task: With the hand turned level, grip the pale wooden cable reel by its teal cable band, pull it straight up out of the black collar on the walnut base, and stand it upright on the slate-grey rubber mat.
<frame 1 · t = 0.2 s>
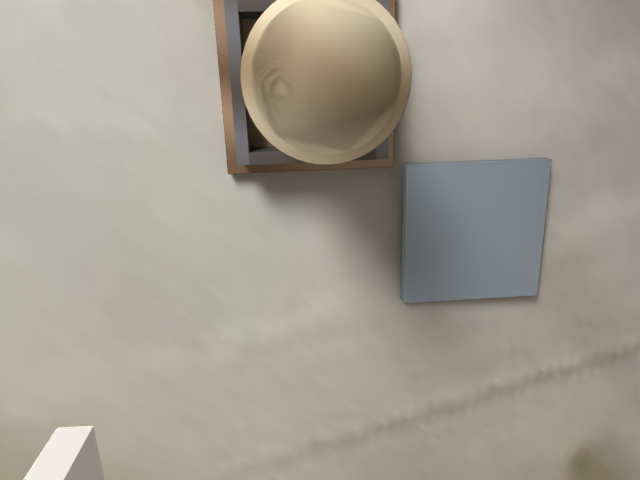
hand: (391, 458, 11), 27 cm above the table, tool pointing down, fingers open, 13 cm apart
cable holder: (307, 83, 35), on the table
cable reel: (308, 83, 34), point 1 cm above the table, touching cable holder
rubber mat: (470, 230, 39), on the table
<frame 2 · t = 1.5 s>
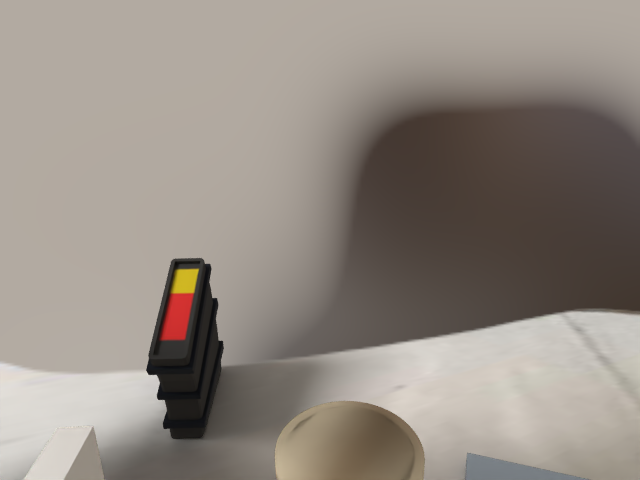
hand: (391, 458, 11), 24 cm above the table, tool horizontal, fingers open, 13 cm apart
magazine: (196, 410, 49), on the table
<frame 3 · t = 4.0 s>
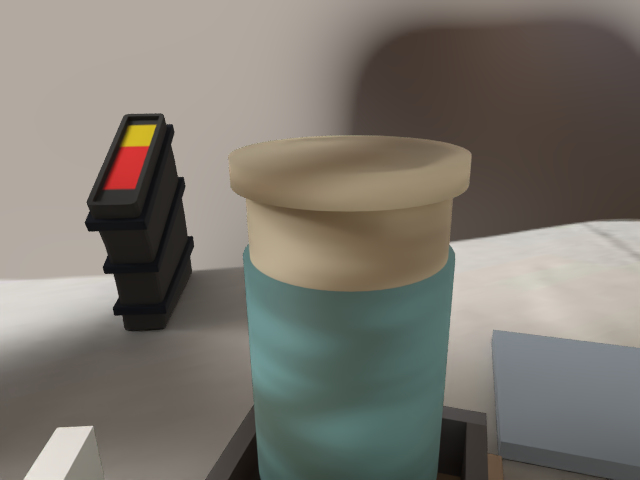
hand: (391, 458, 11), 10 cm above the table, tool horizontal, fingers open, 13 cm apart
magazine: (159, 307, 40), on the table
rubber mat: (597, 406, 28), on the table
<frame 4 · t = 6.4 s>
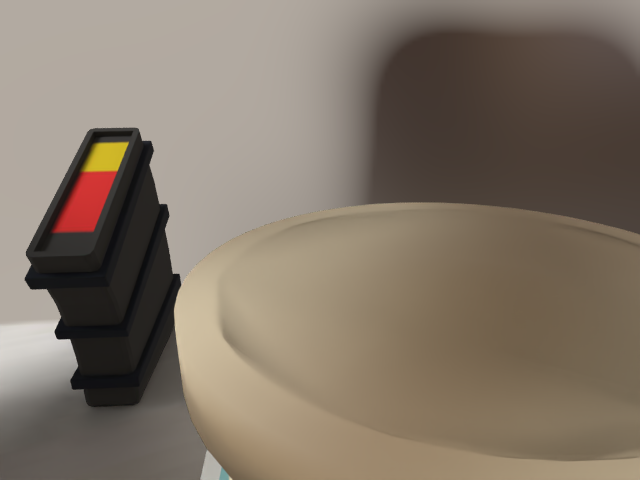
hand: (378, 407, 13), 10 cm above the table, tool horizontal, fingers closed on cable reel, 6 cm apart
magazine: (135, 368, 32), on the table
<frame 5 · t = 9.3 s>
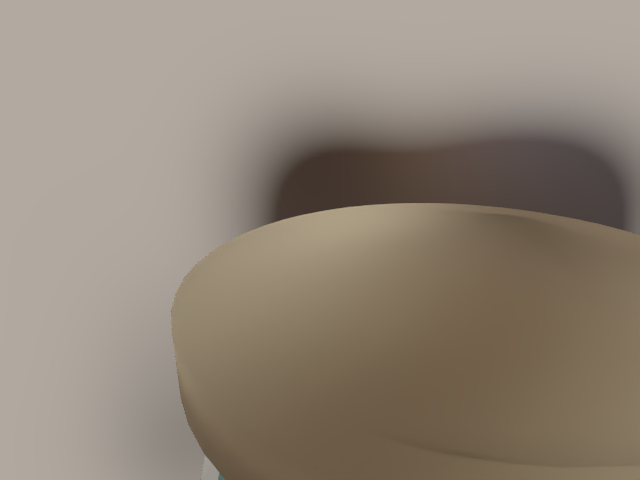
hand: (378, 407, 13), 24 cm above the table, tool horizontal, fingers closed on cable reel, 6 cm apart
when the fingers open (11 cm above the table, at t = 12.2 s): cable reel drops 1 cm, resting on rubber mat.
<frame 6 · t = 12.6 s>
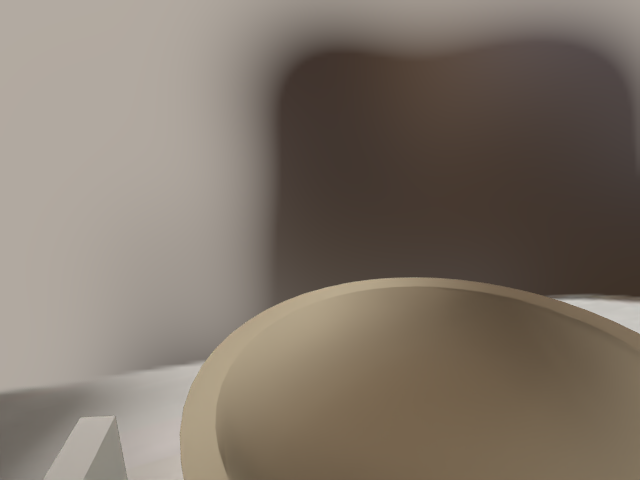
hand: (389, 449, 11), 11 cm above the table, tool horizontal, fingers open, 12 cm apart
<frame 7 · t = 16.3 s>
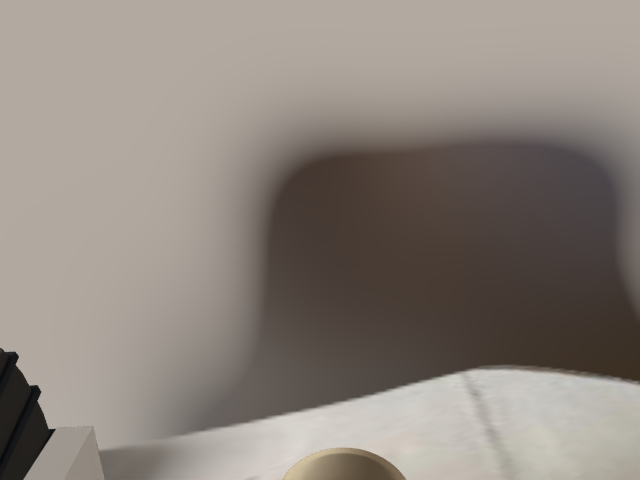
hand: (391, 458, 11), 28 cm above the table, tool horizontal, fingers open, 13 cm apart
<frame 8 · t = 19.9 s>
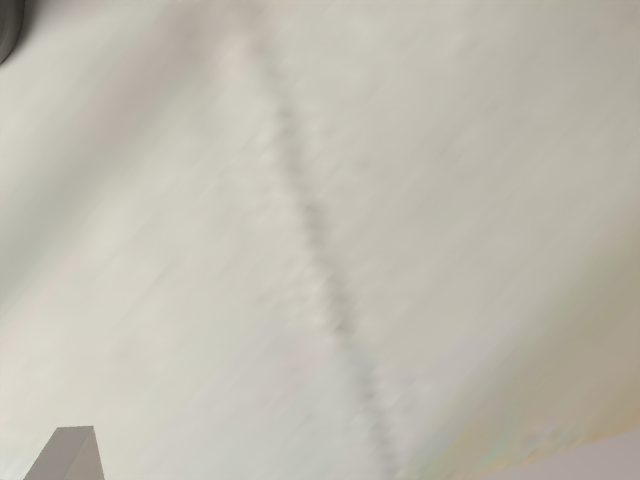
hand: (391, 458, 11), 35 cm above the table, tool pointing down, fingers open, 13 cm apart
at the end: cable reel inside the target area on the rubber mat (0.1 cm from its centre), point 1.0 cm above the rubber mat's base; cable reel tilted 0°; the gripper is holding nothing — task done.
